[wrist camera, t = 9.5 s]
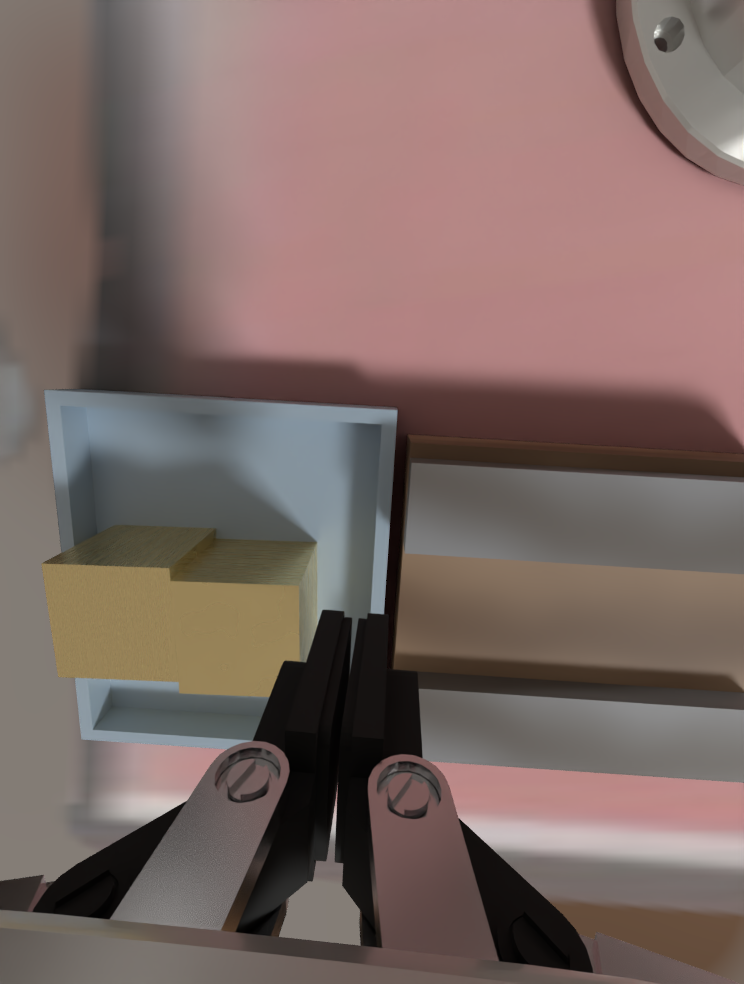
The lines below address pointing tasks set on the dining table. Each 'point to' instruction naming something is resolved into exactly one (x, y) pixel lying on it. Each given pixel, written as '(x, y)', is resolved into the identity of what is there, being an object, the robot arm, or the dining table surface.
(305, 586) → the light brown cube
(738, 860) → the dining table surface
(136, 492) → the tray
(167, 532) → the tan wooden cube
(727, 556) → the slot bed
